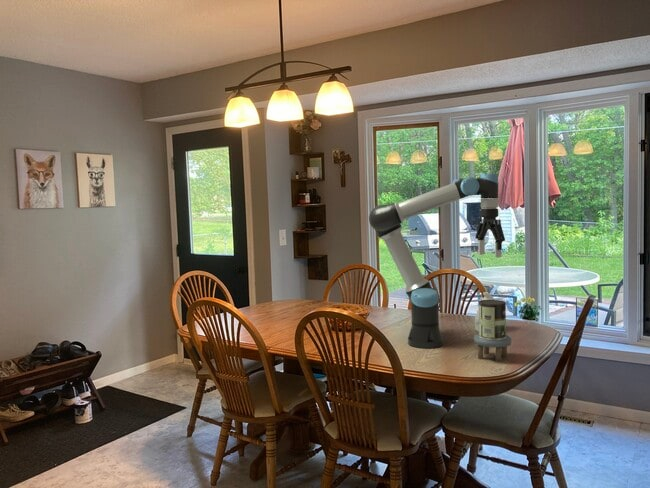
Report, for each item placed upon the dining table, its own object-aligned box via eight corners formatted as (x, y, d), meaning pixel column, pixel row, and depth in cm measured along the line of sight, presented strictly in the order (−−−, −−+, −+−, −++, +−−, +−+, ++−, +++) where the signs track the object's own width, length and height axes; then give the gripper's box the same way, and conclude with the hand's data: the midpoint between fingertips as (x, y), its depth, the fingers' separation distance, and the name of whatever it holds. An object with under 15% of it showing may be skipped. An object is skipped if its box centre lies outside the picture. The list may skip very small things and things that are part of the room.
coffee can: (504, 334, 213) (504, 299, 211) (507, 340, 202) (507, 304, 201) (477, 333, 215) (477, 299, 213) (479, 340, 204) (479, 304, 203)
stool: (468, 359, 207) (468, 339, 207) (481, 350, 219) (481, 331, 218) (504, 364, 199) (504, 343, 198) (515, 355, 210) (515, 335, 210)
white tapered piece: (491, 334, 244) (491, 295, 242) (469, 329, 254) (468, 292, 253) (508, 329, 252) (508, 292, 250) (485, 324, 262) (485, 288, 260)
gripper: (513, 208, 224) (513, 258, 225) (482, 207, 248) (482, 252, 249) (497, 208, 222) (497, 259, 224) (467, 208, 246) (468, 253, 248)
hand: (489, 255), depth 237 cm, fingers open, 13 cm apart
